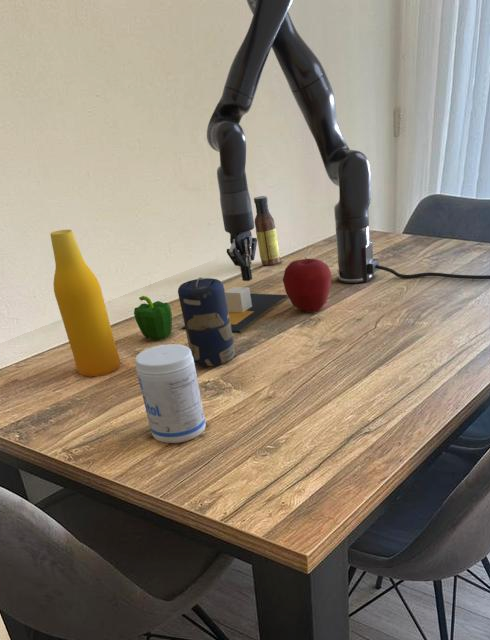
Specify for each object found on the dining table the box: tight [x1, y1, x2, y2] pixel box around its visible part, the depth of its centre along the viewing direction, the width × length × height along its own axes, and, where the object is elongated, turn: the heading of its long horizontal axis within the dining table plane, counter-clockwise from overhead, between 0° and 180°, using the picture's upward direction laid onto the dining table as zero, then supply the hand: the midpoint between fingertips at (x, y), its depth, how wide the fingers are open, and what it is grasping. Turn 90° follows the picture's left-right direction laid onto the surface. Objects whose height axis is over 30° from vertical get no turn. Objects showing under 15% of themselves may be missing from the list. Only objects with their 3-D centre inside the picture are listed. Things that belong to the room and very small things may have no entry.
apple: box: [282, 256, 332, 313], centre depth 167 cm, size 12×12×13 cm
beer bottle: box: [49, 229, 121, 377], centre depth 140 cm, size 9×9×29 cm
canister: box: [177, 277, 236, 367], centre depth 141 cm, size 10×10×18 cm
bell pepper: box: [133, 295, 173, 341], centre depth 160 cm, size 8×8×10 cm
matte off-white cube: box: [224, 286, 252, 313], centre depth 173 cm, size 5×5×5 cm
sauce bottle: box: [253, 195, 281, 266], centre depth 208 cm, size 7×6×20 cm
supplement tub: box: [134, 343, 207, 444], centre depth 115 cm, size 10×10×15 cm
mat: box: [182, 293, 288, 334], centre depth 174 cm, size 16×28×1 cm, turn 158°
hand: (247, 280), depth 176 cm, fingers closed
